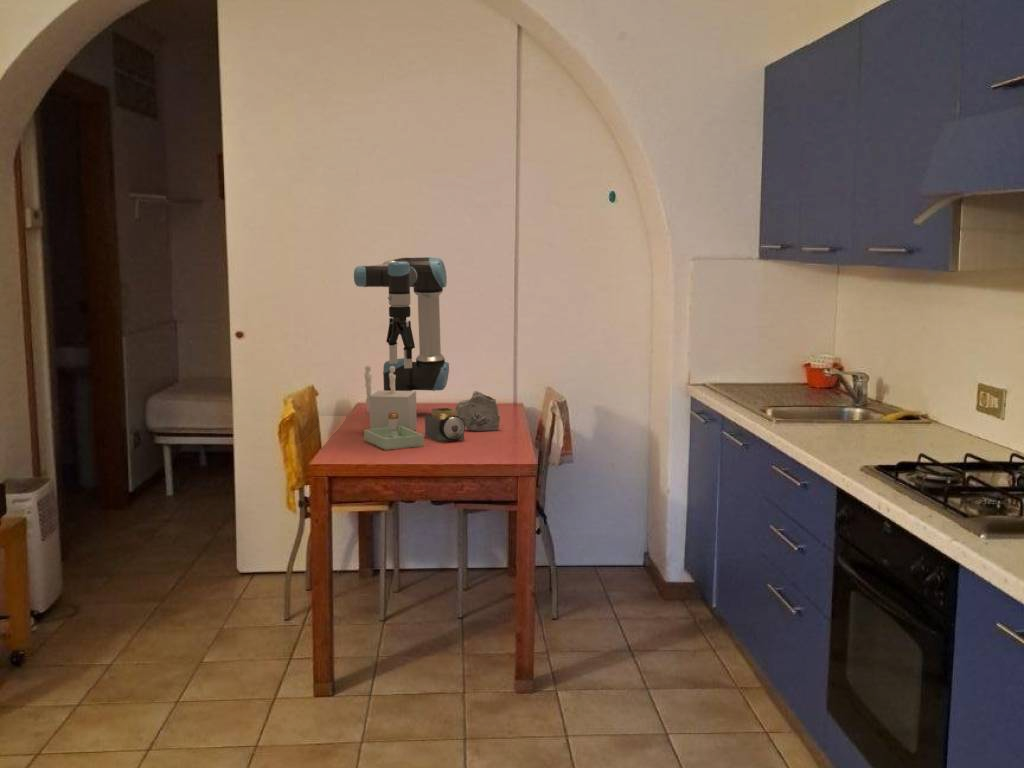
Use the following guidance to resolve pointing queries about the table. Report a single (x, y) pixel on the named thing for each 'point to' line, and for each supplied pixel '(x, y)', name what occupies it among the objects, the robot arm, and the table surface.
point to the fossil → (479, 412)
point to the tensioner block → (444, 425)
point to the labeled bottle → (393, 425)
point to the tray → (403, 441)
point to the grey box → (390, 404)
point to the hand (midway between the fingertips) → (400, 365)
